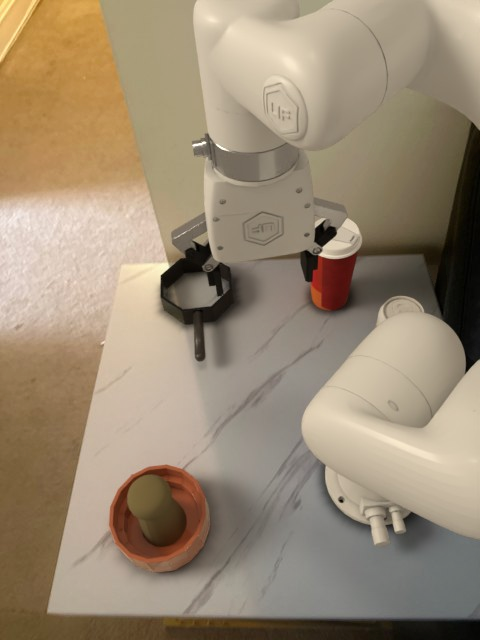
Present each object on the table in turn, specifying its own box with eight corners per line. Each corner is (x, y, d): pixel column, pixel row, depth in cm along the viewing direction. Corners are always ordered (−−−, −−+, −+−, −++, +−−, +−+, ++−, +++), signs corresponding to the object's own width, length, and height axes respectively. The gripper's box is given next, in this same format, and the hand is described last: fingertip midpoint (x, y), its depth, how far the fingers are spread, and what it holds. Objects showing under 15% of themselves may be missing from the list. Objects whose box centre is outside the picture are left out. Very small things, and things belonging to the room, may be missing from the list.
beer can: (406, 356, 86) (425, 294, 75) (409, 391, 83) (429, 331, 71) (366, 355, 87) (378, 292, 75) (368, 389, 84) (380, 329, 72)
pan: (240, 365, 88) (239, 353, 85) (164, 374, 88) (160, 362, 85) (230, 266, 101) (228, 252, 98) (164, 273, 101) (160, 260, 98)
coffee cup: (362, 289, 95) (372, 223, 83) (340, 323, 91) (348, 259, 79) (317, 272, 98) (321, 206, 87) (295, 304, 94) (295, 239, 83)
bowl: (212, 567, 70) (208, 556, 66) (116, 578, 70) (106, 567, 66) (207, 475, 77) (203, 460, 73) (121, 484, 77) (112, 470, 73)
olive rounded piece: (163, 490, 76) (146, 456, 67) (196, 518, 73) (183, 487, 64) (131, 526, 73) (109, 496, 64) (164, 557, 71) (146, 529, 62)
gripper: (155, 188, 45) (186, 319, 59) (366, 156, 46) (349, 293, 59) (151, 134, 50) (181, 267, 63) (343, 106, 50) (332, 243, 64)
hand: (262, 279), depth 61 cm, fingers open, 9 cm apart
